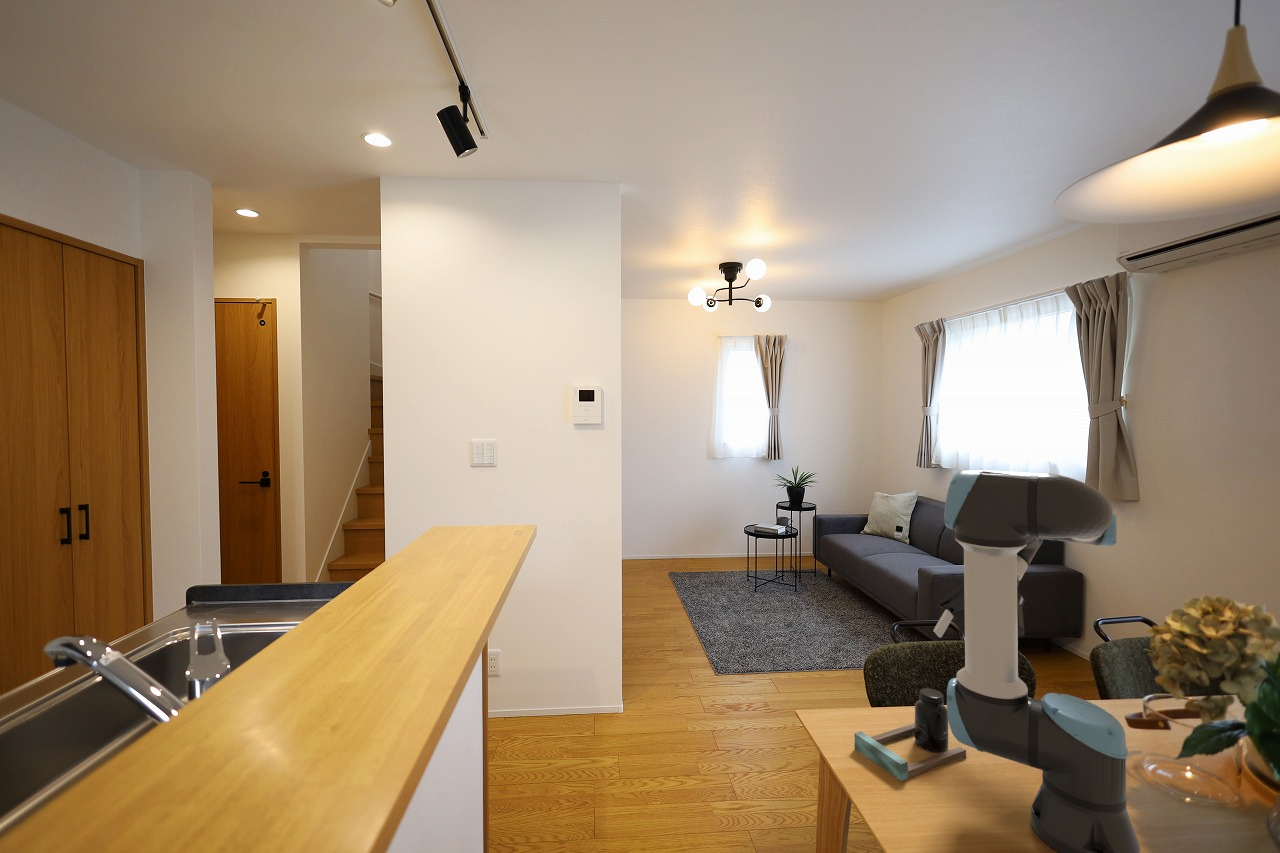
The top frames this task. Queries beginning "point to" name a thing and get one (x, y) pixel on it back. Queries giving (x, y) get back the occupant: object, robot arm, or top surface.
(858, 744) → the channel
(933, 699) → the supplement bottle
